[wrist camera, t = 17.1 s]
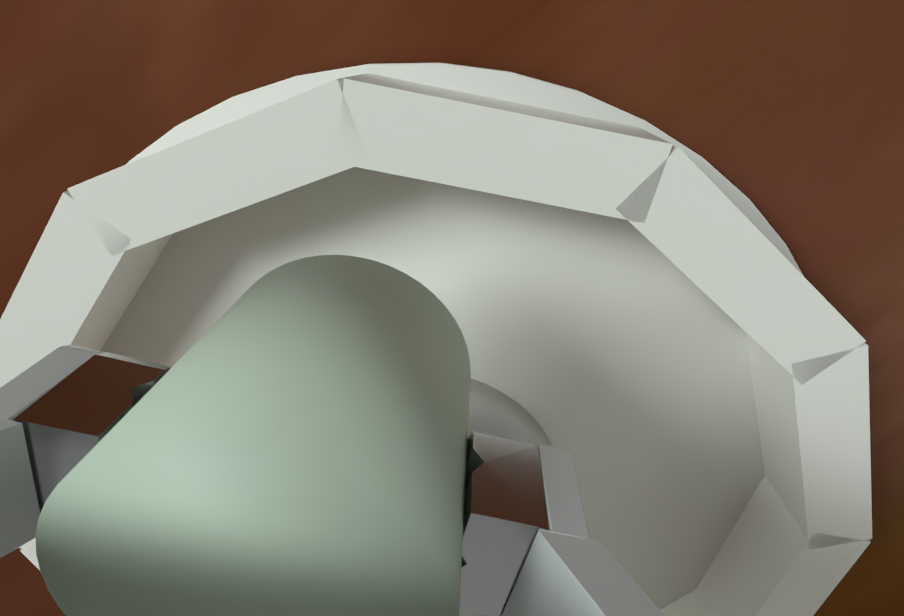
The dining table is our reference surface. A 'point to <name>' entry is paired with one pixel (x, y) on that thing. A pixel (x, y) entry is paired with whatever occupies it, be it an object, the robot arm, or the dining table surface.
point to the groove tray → (513, 303)
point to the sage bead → (281, 463)
